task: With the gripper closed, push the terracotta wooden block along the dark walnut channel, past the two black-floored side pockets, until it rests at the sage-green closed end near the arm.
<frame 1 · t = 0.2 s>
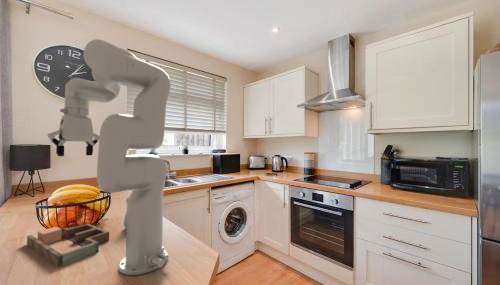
hand: (75, 155, 82), 30 cm above the table, tool pointing down, fingers open, 9 cm apart
channel: (60, 247, 68), on the table
block: (49, 241, 73), on the table
salt shaker: (131, 228, 85), on the table
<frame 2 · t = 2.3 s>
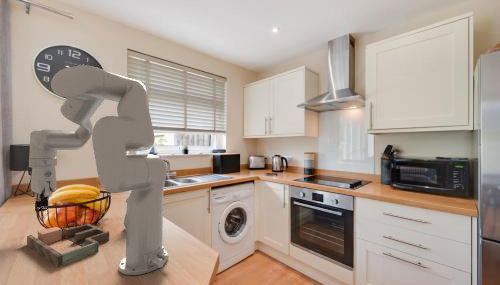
hand: (41, 210, 78), 10 cm above the table, tool pointing down, fingers closed
nothing on the table moved.
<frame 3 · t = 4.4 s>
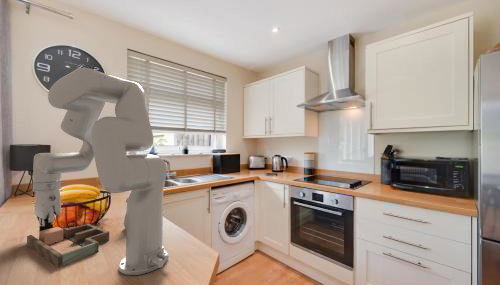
hand: (45, 235, 75), 1 cm above the table, tool pointing down, fingers closed
block: (51, 241, 73), on the table, touching gripper
everything else where it was.
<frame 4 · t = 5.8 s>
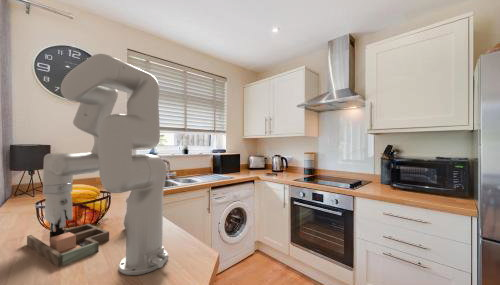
hand: (56, 241, 70), 1 cm above the table, tool pointing down, fingers closed
block: (62, 248, 68), on the table, touching gripper
everything else where it was.
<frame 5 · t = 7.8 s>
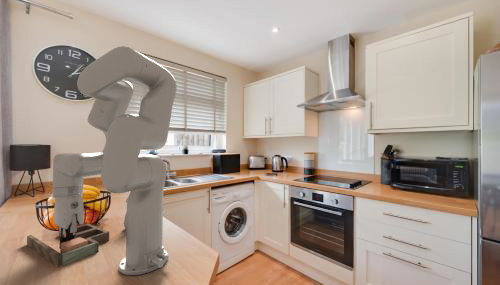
hand: (66, 247, 66), 1 cm above the table, tool pointing down, fingers closed
block: (74, 254, 64), on the table, touching gripper
everything else where it was.
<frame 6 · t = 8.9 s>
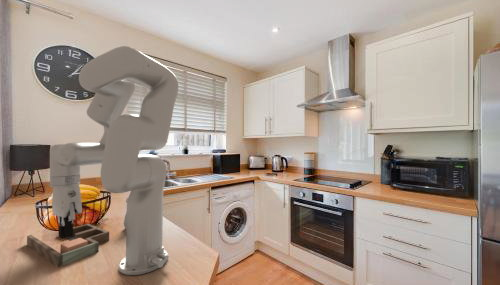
hand: (66, 236, 67), 4 cm above the table, tool pointing down, fingers closed
block: (74, 255, 64), on the table
everything else where it was.
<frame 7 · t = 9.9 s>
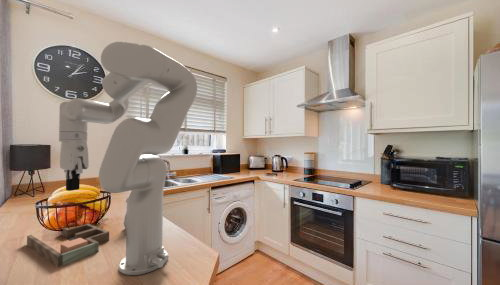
hand: (72, 189, 71), 19 cm above the table, tool pointing down, fingers closed
nothing on the table moved.
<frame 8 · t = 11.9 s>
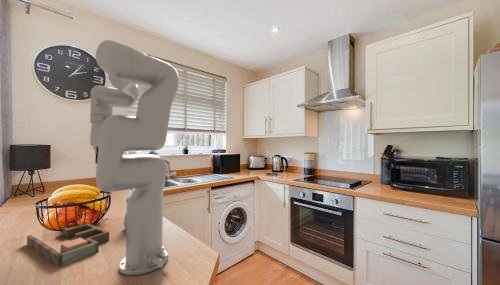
hand: (100, 163, 85), 27 cm above the table, tool pointing down, fingers closed
nothing on the table moved.
at the end: block 0.5 cm from the target spot, on the table; block tilted 0° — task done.
